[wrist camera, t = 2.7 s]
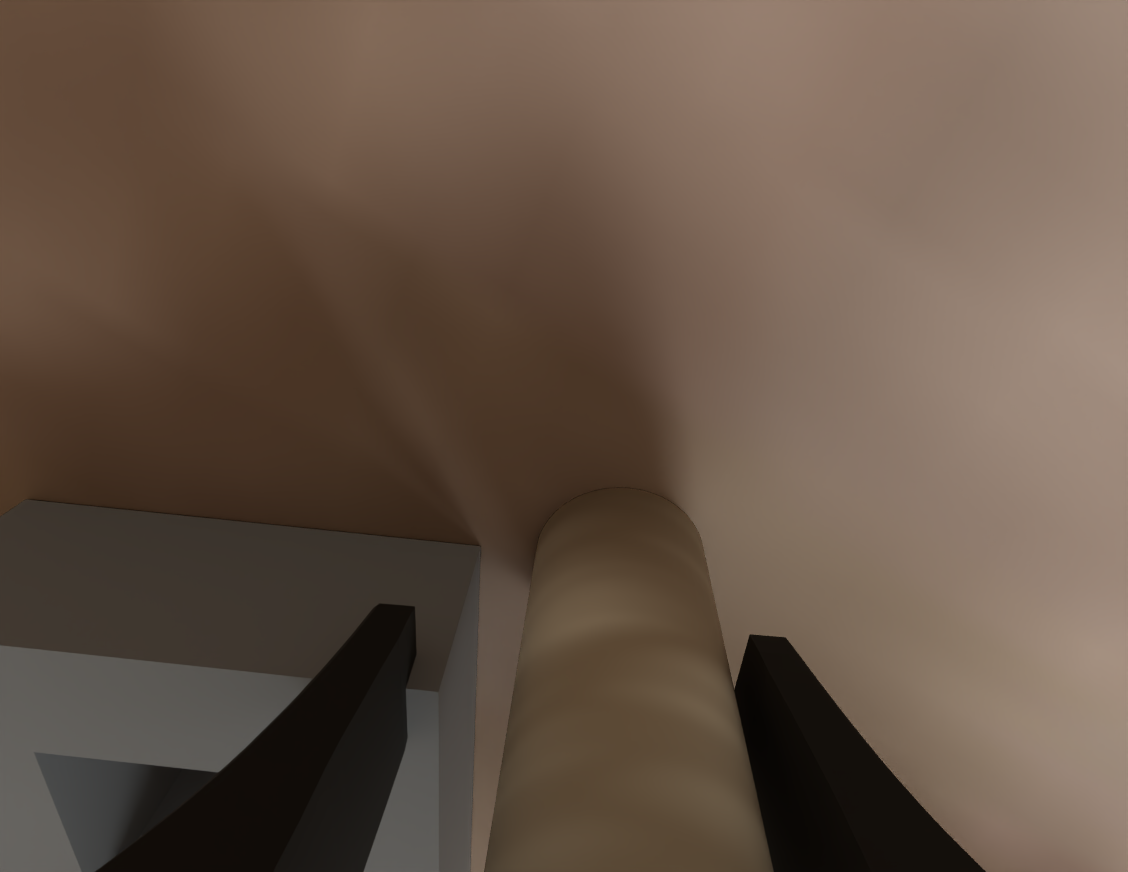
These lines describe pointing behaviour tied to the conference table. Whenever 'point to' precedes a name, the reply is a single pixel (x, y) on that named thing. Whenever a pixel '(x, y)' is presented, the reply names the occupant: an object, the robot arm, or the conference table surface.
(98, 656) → the socket block
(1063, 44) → the conference table surface
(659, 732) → the peg
